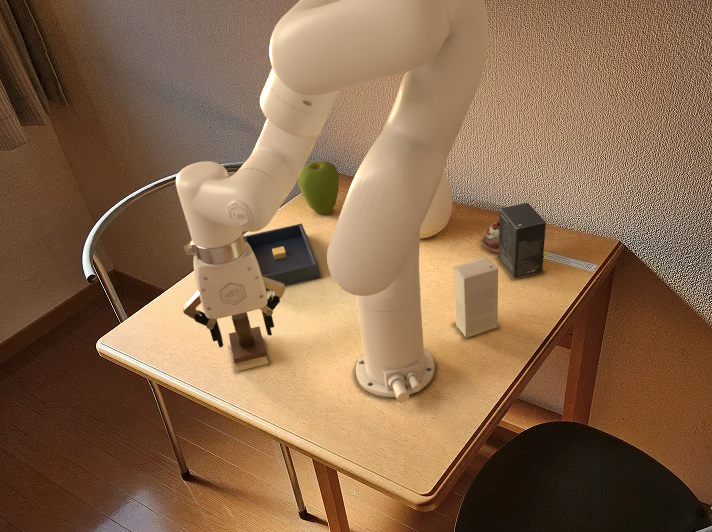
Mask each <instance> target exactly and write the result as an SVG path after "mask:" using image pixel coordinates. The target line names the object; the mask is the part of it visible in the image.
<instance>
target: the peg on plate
mask: <svg viewBox="0 0 712 532" xmlns="http://www.w3.org/2000/svg"><path fill="white" fill-rule="evenodd" d="M230 317H231V320H232V324H233V328H234V332H229V333H228V338H229V343H230V344H229V345H230V349H231V355H232V359H233V363H234V364H235V367H236V370H237V372H241V371H245V370H250V369H253V368H256V367H262V366H265V365H269V361H268V357H267V356H268V355H267V351H266V347H265V343H264V339H263V335H262V331H261V327H260V326H255V327H252V326H251V323H250V318H249V316H248V312H245V313H241V314H237V315H233V316H230Z"/></svg>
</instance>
